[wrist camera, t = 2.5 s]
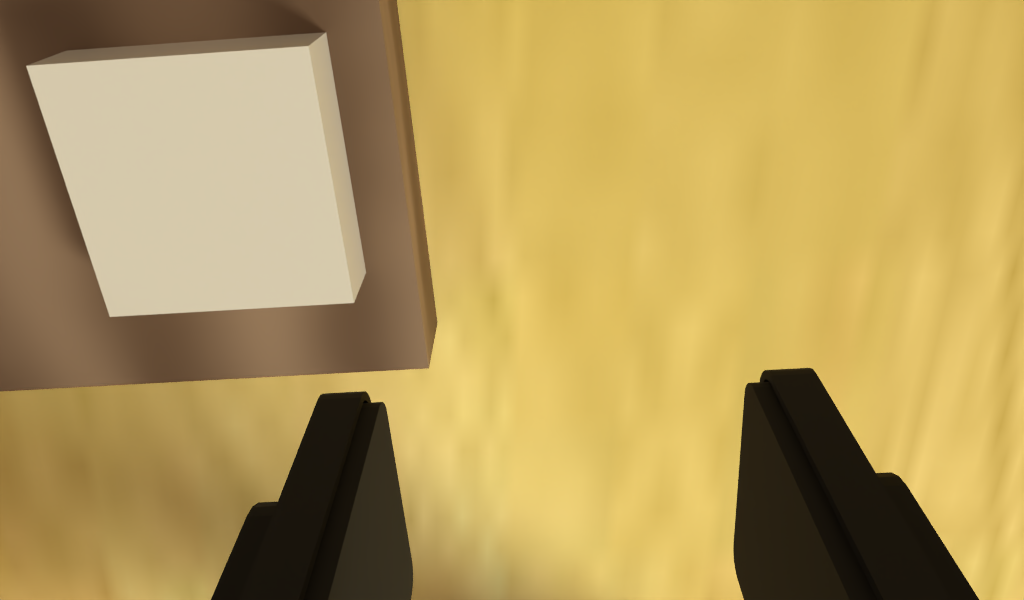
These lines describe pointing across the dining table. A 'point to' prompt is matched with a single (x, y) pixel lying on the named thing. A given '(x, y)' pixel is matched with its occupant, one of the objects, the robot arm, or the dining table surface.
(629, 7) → the dining table surface
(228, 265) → the tile
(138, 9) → the flat wooden board
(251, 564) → the robot arm
